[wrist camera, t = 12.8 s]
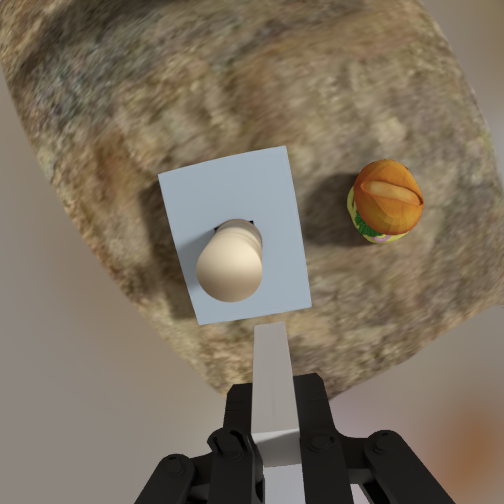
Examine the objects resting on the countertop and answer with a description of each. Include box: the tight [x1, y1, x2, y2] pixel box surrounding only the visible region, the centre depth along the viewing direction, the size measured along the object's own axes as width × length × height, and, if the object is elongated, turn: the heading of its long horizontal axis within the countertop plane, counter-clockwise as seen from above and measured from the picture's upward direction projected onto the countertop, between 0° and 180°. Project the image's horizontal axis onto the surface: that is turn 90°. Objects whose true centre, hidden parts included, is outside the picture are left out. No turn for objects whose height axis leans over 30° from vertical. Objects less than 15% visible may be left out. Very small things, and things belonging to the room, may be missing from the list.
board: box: [158, 146, 312, 325], centre depth 34 cm, size 20×15×5 cm
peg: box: [196, 219, 262, 302], centre depth 30 cm, size 6×6×14 cm
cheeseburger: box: [347, 159, 424, 243], centre depth 31 cm, size 10×11×10 cm
